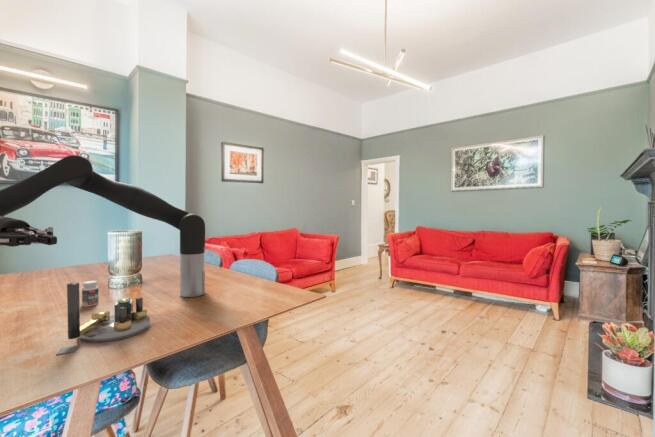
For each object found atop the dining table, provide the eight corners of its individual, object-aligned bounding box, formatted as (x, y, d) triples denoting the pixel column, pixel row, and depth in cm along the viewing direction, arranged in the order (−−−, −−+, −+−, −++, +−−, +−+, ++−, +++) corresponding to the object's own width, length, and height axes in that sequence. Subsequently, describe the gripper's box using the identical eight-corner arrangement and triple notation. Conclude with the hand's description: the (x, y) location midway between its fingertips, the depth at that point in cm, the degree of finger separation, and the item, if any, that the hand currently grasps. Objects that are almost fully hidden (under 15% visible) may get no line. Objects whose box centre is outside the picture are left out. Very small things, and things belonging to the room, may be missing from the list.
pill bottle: (89, 307, 107) (89, 284, 106) (78, 306, 108) (78, 283, 107) (101, 303, 111) (101, 280, 111) (91, 302, 112) (91, 280, 112)
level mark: (79, 346, 78) (79, 345, 78) (74, 352, 74) (74, 351, 74) (61, 348, 76) (61, 347, 76) (55, 355, 73) (55, 354, 73)
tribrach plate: (152, 316, 99) (152, 289, 99) (146, 336, 84) (146, 305, 84) (88, 323, 92) (88, 295, 92) (69, 347, 77) (68, 314, 76)
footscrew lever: (97, 317, 91) (96, 271, 91) (112, 316, 92) (112, 271, 92) (61, 339, 76) (60, 285, 76) (80, 338, 77) (79, 284, 76)
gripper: (-31, 221, 76) (23, 231, 73) (30, 214, 89) (78, 223, 86) (-28, 249, 77) (25, 261, 74) (31, 238, 90) (79, 248, 87)
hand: (53, 240), depth 80 cm, fingers closed
